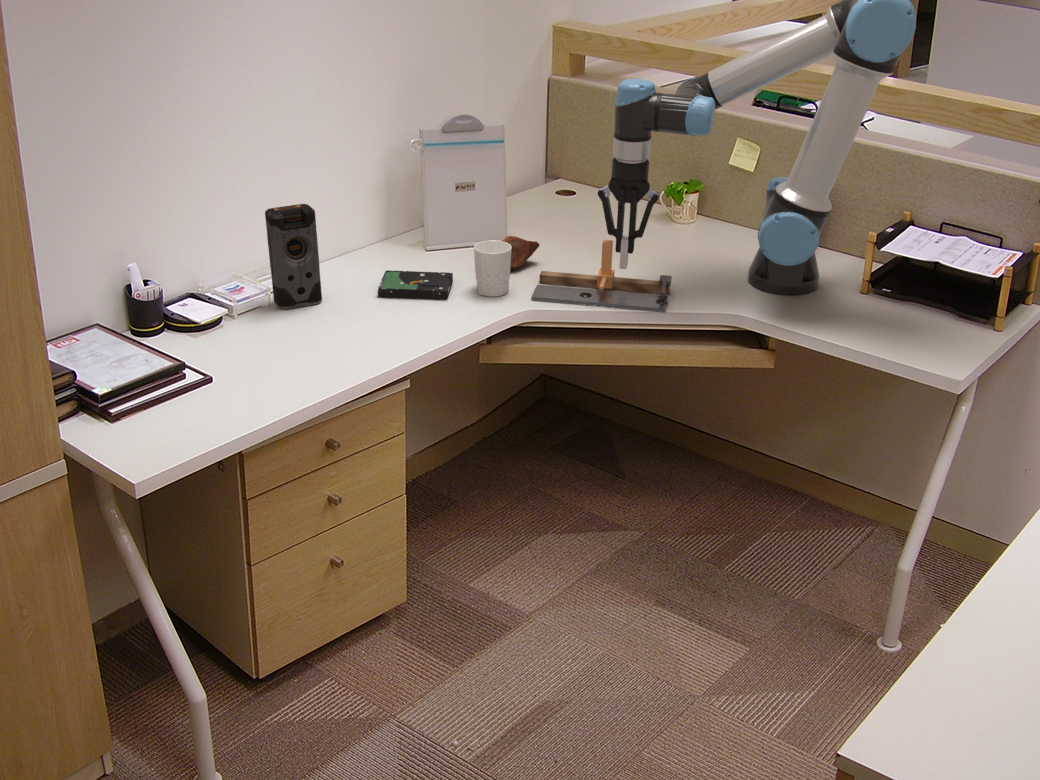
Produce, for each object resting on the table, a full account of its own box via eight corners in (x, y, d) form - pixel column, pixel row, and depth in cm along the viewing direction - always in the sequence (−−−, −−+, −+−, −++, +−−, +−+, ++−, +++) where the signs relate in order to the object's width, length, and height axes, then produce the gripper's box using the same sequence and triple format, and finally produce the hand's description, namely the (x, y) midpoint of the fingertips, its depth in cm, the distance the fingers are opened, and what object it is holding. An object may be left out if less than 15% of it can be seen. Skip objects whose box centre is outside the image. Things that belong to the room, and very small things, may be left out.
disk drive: (453, 284, 235) (385, 281, 235) (453, 272, 234) (385, 269, 234) (448, 303, 226) (377, 300, 226) (447, 290, 224) (377, 287, 225)
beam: (670, 289, 232) (671, 275, 230) (667, 307, 224) (668, 292, 222) (541, 278, 237) (542, 264, 235) (533, 295, 228) (534, 281, 227)
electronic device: (280, 311, 219) (271, 217, 210) (272, 301, 224) (262, 208, 214) (324, 303, 223) (317, 210, 214) (315, 293, 228) (307, 202, 218)
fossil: (542, 244, 246) (527, 216, 238) (546, 271, 241) (531, 244, 233) (490, 261, 248) (474, 234, 241) (494, 289, 244) (477, 262, 236)
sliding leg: (614, 281, 234) (616, 239, 230) (608, 299, 225) (610, 255, 221) (599, 280, 235) (601, 237, 230) (593, 297, 226) (595, 254, 221)
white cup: (506, 299, 226) (507, 254, 221) (470, 296, 227) (469, 251, 223) (514, 285, 233) (514, 241, 228) (479, 282, 234) (478, 238, 230)
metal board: (669, 299, 227) (669, 295, 227) (666, 312, 221) (666, 308, 221) (537, 288, 232) (537, 284, 231) (531, 300, 226) (531, 296, 225)
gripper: (664, 155, 221) (655, 263, 233) (601, 151, 224) (595, 257, 235) (661, 165, 215) (652, 275, 226) (596, 160, 217) (590, 270, 228)
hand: (623, 266), depth 230 cm, fingers closed
